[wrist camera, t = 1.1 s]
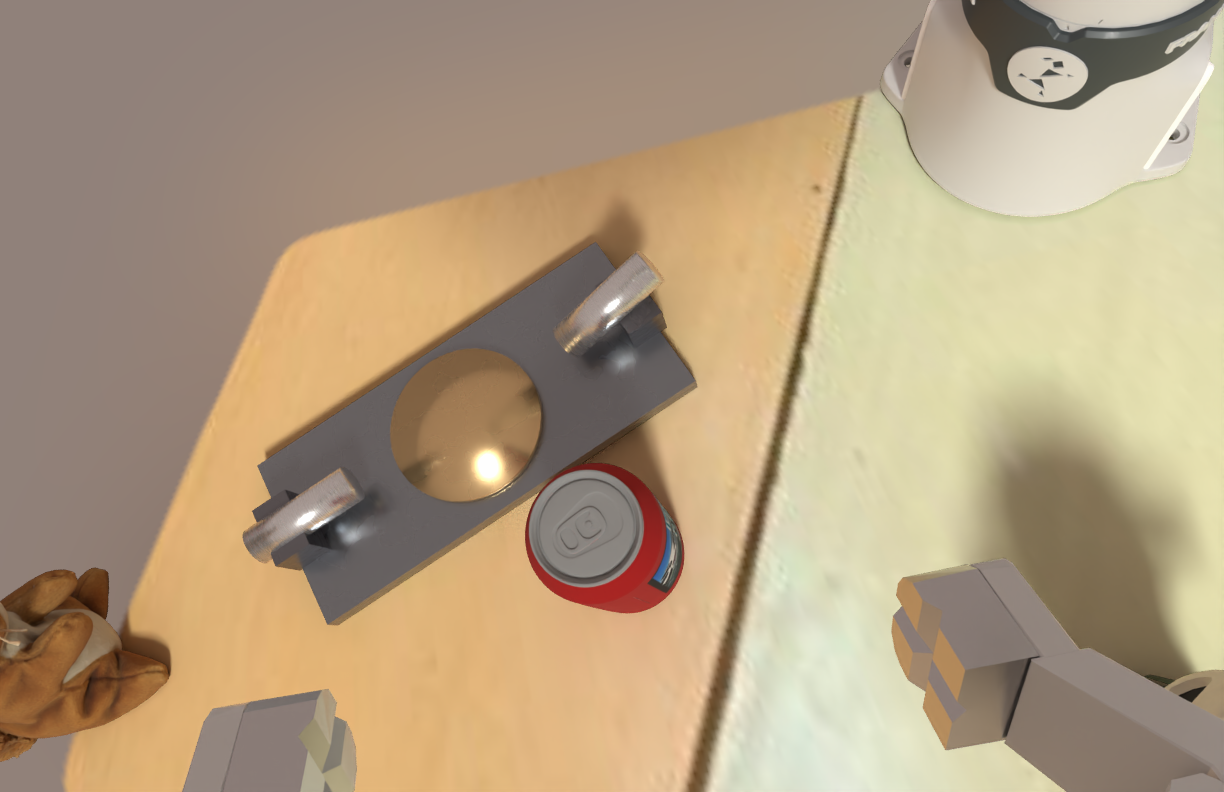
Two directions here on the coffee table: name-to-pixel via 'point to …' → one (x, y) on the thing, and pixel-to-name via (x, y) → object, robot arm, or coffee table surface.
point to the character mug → (1199, 690)
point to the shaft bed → (469, 431)
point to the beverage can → (603, 540)
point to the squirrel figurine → (65, 661)
